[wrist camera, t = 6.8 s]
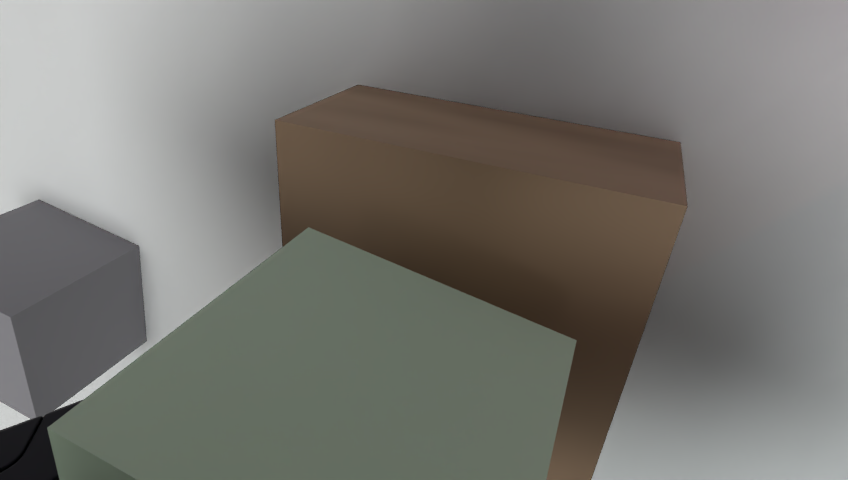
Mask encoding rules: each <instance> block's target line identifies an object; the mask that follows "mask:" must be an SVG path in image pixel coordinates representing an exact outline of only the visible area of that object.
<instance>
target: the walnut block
mask: <svg viewBox="0 0 848 480" xmlns="http://www.w3.org/2000/svg"><path fill="white" fill-rule="evenodd" d="M275 131H276V147H277V164H278V180H279V197H280V213H281V230H282V246H285V245H286V244H287V243H289V242H290V241H291V240H292V239H294V238H295V237H296V236H298V235H299V234H300V233H302V232H303V231H304V230H305V229H307V228H308V227H309V228H312V229H314V230H316V231H319V232H321V233H323V234H326V235H328V236H331V237H333V238H335V239H338V240H340V241H342V242H345V243H347V244H350V245H352V246H354V247H357V248H359V249H361V250H364V251H366V252H368V253H371V254H373V255H376V256H378V257H380V258H383V259H385V260H387V261H390V262H392V263H395V264H397V265H399V266H402V267H404V268H406V269H409V270H411V271H413V272H416V273H418V274H421V275H423V276H425V277H428V278H430V279H432V280H435V281H437V282H440V283H442V284H444V285H447V286H449V287H451V288H454V289H456V290H459V291H461V292H463V293H466V294H468V295H470V296H473V297H475V298H477V299H480V300H482V301H485V302H487V303H489V304H492V305H494V306H496V307H499V308H501V309H504V310H506V311H508V312H511V313H513V314H515V315H518V316H520V317H522V318H525V319H527V320H530V321H532V322H534V323H537V324H539V325H541V326H544V327H546V328H549V329H551V330H553V331H556V332H558V333H560V334H563V335H565V336H568V337H570V338H572V339H575V340H577V341H576V346H575V350H574V355H573V360H572V364H571V369H570V373H569V378H568V382H567V387H566V392H565V396H564V401H563V405H562V410H561V415H560V419H559V424H558V428H557V433H556V437H555V442H554V447H553V451H552V456H551V460H550V465H549V470H548V474H547V479H546V480H591V478H592V476H593V473H594V470H595V467H596V464H597V461H598V459H599V456H600V453H601V450H602V447H603V444H604V442H605V439H606V436H607V433H608V430H609V427H610V425H611V422H612V419H613V416H614V413H615V410H616V408H617V405H618V402H619V399H620V396H621V393H622V391H623V388H624V385H625V382H626V379H627V376H628V374H629V371H630V368H631V365H632V362H633V359H634V357H635V354H636V351H637V348H638V345H639V342H640V340H641V337H642V334H643V331H644V328H645V325H646V323H647V320H648V317H649V314H650V311H651V308H652V306H653V303H654V300H655V297H656V294H657V291H658V289H659V286H660V283H661V280H662V277H663V274H664V272H665V269H666V266H667V263H668V260H669V257H670V255H671V252H672V249H673V246H674V243H675V240H676V238H677V235H678V232H679V229H680V226H681V223H682V221H683V218H684V215H685V212H686V209H687V197H686V188H685V179H684V170H683V161H682V152H681V143H680V142H675V141H670V140H664V139H659V138H653V137H647V136H642V135H636V134H631V133H625V132H619V131H614V130H608V129H603V128H597V127H591V126H586V125H580V124H575V123H569V122H564V121H558V120H552V119H547V118H541V117H536V116H530V115H524V114H519V113H513V112H508V111H502V110H496V109H491V108H485V107H480V106H474V105H469V104H463V103H457V102H452V101H446V100H441V99H435V98H429V97H424V96H418V95H413V94H407V93H401V92H396V91H390V90H385V89H379V88H374V87H368V86H362V85H356V86H354V87H352V88H349V89H347V90H344V91H342V92H340V93H337V94H335V95H333V96H330V97H328V98H326V99H323V100H321V101H318V102H316V103H314V104H311V105H309V106H307V107H304V108H302V109H300V110H297V111H295V112H293V113H290V114H288V115H285V116H283V117H281V118H278V119H276V120H275Z"/></svg>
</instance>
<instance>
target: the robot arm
mask: <svg viewBox="0 0 848 480" xmlns="http://www.w3.org/2000/svg"><path fill="white" fill-rule="evenodd" d="M81 401H83V400H81ZM81 401H78V402H76V403H73V404H70V405H68V406H65V407H62V408H60V409H57V410H54V411H52V412H49V413H47V414H45V415H44V417H43V416H38V417H35V418H33V419H30V420H27V421H25V422H22V423H19V424H17V425H14V426H11V427H8V428H6V429H3V430H0V480H59V475H58V471H57V467H56V463H55V459H54V455H53V451H52V446H51V442H50V438H49V434H48V430H47V428H48V427H49V426H50V425H51V424H53V423H54V422H55V421H57V420H58V419H59V418H61V417H62V416H63V415H64V414H66V413H67V412H68V411H70V410H71V409H72V408H74V407H75V406H76V405H77V404H79V403H80V402H81Z"/></svg>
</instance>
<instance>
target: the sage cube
mask: <svg viewBox="0 0 848 480" xmlns="http://www.w3.org/2000/svg"><path fill="white" fill-rule="evenodd" d="M576 341H577V340H575V339H572V338H570V337H568V336H565V335H563V334H560V333H558V332H556V331H553V330H551V329H549V328H546V327H544V326H541V325H539V324H537V323H534V322H532V321H530V320H527V319H525V318H522V317H520V316H518V315H515V314H513V313H511V312H508V311H506V310H504V309H501V308H499V307H496V306H494V305H492V304H489V303H487V302H485V301H482V300H480V299H477V298H475V297H473V296H470V295H468V294H466V293H463V292H461V291H459V290H456V289H454V288H451V287H449V286H447V285H444V284H442V283H440V282H437V281H435V280H432V279H430V278H428V277H425V276H423V275H421V274H418V273H416V272H413V271H411V270H409V269H406V268H404V267H402V266H399V265H397V264H395V263H392V262H390V261H387V260H385V259H383V258H380V257H378V256H376V255H373V254H371V253H368V252H366V251H364V250H361V249H359V248H357V247H354V246H352V245H350V244H347V243H345V242H342V241H340V240H338V239H335V238H333V237H331V236H328V235H326V234H323V233H321V232H319V231H316V230H314V229H312V228H309V227H308V228H307V229H305V230H304V231H303V232H302V233H300V234H299V235H298V236H296V237H295V238H294V239H292V240H291V241H290V242H289V243H287V244H286V245H285V246H283V247H282V248H281V249H279V250H278V251H277V252H276V253H274V254H273V255H272V256H270V257H269V258H268V259H266V260H265V261H264V262H262V263H261V264H260V265H259V266H257V267H256V268H255V269H253V270H252V271H251V272H249V273H248V274H247V275H246V276H244V277H243V278H242V279H240V280H239V281H238V282H236V283H235V284H234V285H233V286H231V287H230V288H229V289H227V290H226V291H225V292H223V293H222V294H221V295H219V296H218V297H217V298H216V299H214V300H213V301H212V302H210V303H209V304H208V305H206V306H205V307H204V308H203V309H201V310H200V311H199V312H197V313H196V314H195V315H193V316H192V317H191V318H190V319H188V320H187V321H186V322H184V323H183V324H182V325H180V326H179V327H178V328H177V329H175V330H174V331H173V332H171V333H170V334H169V335H167V336H166V337H165V338H163V339H162V340H161V341H160V342H158V343H157V344H156V345H154V346H153V347H152V348H150V349H149V350H148V351H147V352H145V353H144V354H143V355H141V356H140V357H139V358H137V359H136V360H135V361H134V362H132V363H131V364H130V365H128V366H127V367H126V368H124V369H123V370H122V371H120V372H119V373H118V374H117V375H115V376H114V377H113V378H111V379H110V380H109V381H107V382H106V383H105V384H104V385H102V386H101V387H100V388H98V389H97V390H96V391H94V392H93V393H92V394H91V395H89V396H88V397H87V398H85V399H84V400H83V401H81V402H80V403H79V404H77V405H76V406H75V407H74V408H72V409H71V410H70V411H68V412H67V413H66V414H64V415H63V416H62V417H61V418H59V419H58V420H57V421H55V422H54V423H53V424H51V425H50V426H49V427H48V428H47V430H48V434H49V438H50V442H51V446H52V451H53V455H54V459H55V463H56V467H57V471H58V475H59V480H546V479H547V474H548V470H549V465H550V460H551V456H552V451H553V447H554V442H555V437H556V433H557V428H558V424H559V419H560V415H561V410H562V405H563V401H564V396H565V392H566V387H567V382H568V378H569V373H570V369H571V364H572V360H573V355H574V350H575V346H576Z"/></svg>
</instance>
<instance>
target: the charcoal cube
mask: <svg viewBox="0 0 848 480" xmlns="http://www.w3.org/2000/svg"><path fill="white" fill-rule="evenodd" d="M146 341H147V338H146V326H145V314H144V301H143V289H142V277H141V264H140V252H139V246H138V245H136V244H134V243H131V242H129V241H127V240H125V239H123V238H121V237H119V236H116V235H114V234H112V233H110V232H108V231H106V230H103V229H101V228H99V227H97V226H95V225H93V224H90V223H88V222H86V221H84V220H82V219H80V218H78V217H75V216H73V215H71V214H69V213H67V212H65V211H62V210H60V209H58V208H56V207H54V206H52V205H50V204H47V203H45V202H43V201H41V200H37V201H35V202H32V203H30V204H27V205H24V206H22V207H19V208H17V209H14V210H12V211H9V212H7V213H4V214H2V215H0V401H1V402H2V403H4V404H6V405H8V406H9V407H11V408H13V409H15V410H16V411H18V412H20V413H21V414H23V415H25V416H27V417H28V418H30V419H33V418H35V417H38V416H43V417H44V415H45V414H47V413H49V412H52V411H54V410H55V409H56V408H58V407H59V406H61V405H62V404H63V403H65V402H66V401H67V400H69V399H70V398H71V397H73V396H74V395H75V394H77V393H78V392H79V391H81V390H82V389H83V388H85V387H86V386H87V385H89V384H90V383H91V382H93V381H94V380H95V379H97V378H98V377H99V376H101V375H102V374H103V373H105V372H106V371H107V370H109V369H110V368H111V367H113V366H114V365H115V364H117V363H118V362H119V361H121V360H122V359H123V358H125V357H126V356H127V355H129V354H130V353H131V352H133V351H134V350H135V349H137V348H138V347H139V346H141V345H142V344H143V343H145V342H146Z"/></svg>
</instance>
